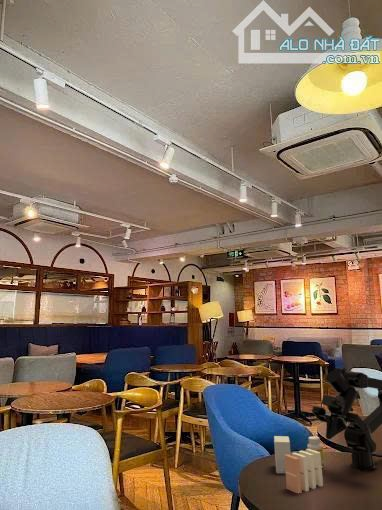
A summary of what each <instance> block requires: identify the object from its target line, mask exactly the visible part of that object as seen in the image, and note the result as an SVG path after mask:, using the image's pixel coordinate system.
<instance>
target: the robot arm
mask: <svg viewBox="0 0 382 510" xmlns="http://www.w3.org/2000/svg"><path fill="white" fill-rule="evenodd" d="M325 380H326V382H327V383H328V385H330V387H331V388H332V389H333V390H334V391H335V393H338V394H337V395H336V396H331V395H327V394H323V395H322V399H321V405H324V406H326V409H325V408H324V406H318V405H314V406H313V407H312V409H311V413H312V414H313V415H314V416H315V418H317V420H318V421H319V422H322V423H326V432H325V438H326V439H327V440H331V439H332V438H334V437H335V436H337V435H338V434H339V433H342V432H343V431H344V432H343V436H344V440H345V443H346V446H347V447H348V448H351V453H350V454H351V463H350V466H352V467H353V468H355V469H357V470H360V471H361V472H363V471H370V470H376V469H377V466H375V465H374V459H373V453H375V451H376V450H377V443H376V442H375V440H373V433H375V431H376V430H377V429H378V428H379V427H380V426H381V425H382V379H380V378H379V379H378V378H374V377H369V376H368V374H366V373H364V372H359V371H349V370H347V371H345V372H343V371H342V369H341V368H339V367H336V368H334V370H333V369H332V370H331V371H329V372H328V373H327V374H326V376H325ZM368 388H370V389H376V390H377V391H378V392H377V399H378V403H379V404H378V406H377V407H376V408H375V409H374V410H373V411H372V412H371V413H369V414H368V416H366V417H365V418H364V419H362V418H361V417H360V415H359V414H358V413H354V408H353V405H354V402H355V400H356V399H357V400H360V399H361V395H360V391H358V390H357V389H368Z"/></svg>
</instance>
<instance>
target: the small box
mask: <svg viewBox="0 0 382 510" xmlns="http://www.w3.org/2000/svg"><path fill="white" fill-rule="evenodd" d="M273 445H274V459H275V472H276V474H285V475H286V470H285V455H287V454H288V455H291V456H292V452H291V441H290V437H289V436H287V435H286V436H285V435H284V436H282V435H274V436H273Z"/></svg>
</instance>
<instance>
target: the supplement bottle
mask: <svg viewBox="0 0 382 510" xmlns="http://www.w3.org/2000/svg"><path fill="white" fill-rule="evenodd" d="M306 447H307V448H306V449H311V450H314V451H317V452H320V454H321V466H322V468H324V467H325V463H324V461H325V460H324V451H323V450H324V449H323V446H322V444H321V439H320V437H319V436H312V435H311V436H308V443H307V446H306Z"/></svg>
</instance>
